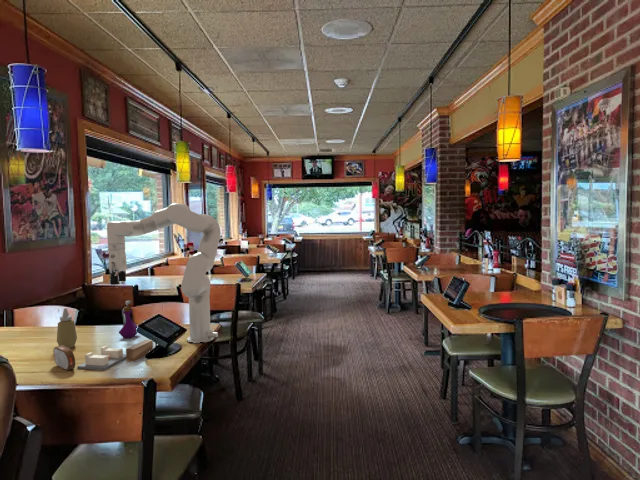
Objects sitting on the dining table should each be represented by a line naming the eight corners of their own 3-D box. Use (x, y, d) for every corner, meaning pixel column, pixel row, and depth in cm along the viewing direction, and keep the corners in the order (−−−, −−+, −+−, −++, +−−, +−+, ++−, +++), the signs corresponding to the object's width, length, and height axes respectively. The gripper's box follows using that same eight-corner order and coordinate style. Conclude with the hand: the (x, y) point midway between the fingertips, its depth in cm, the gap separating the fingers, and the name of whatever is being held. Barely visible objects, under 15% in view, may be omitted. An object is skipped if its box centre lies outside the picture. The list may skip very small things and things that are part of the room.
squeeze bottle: (68, 350, 195) (66, 310, 194) (52, 349, 197) (50, 310, 196) (81, 345, 203) (79, 307, 202) (66, 344, 205) (64, 306, 204)
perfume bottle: (133, 338, 212) (132, 302, 211) (118, 339, 212) (116, 302, 211) (140, 334, 220) (138, 299, 219) (125, 334, 220) (124, 299, 219)
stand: (130, 356, 185) (129, 345, 184) (104, 370, 169) (103, 357, 169) (105, 355, 187) (104, 344, 187) (77, 368, 171) (76, 356, 171)
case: (153, 352, 191) (152, 340, 190) (133, 362, 178) (133, 349, 178) (146, 352, 191) (145, 339, 191) (126, 361, 179) (125, 348, 178)
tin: (76, 370, 169) (75, 349, 168) (67, 373, 167) (66, 351, 166) (61, 363, 178) (60, 342, 178) (52, 365, 176) (51, 344, 176)
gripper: (117, 248, 200) (119, 285, 201) (131, 245, 217) (133, 279, 218) (100, 248, 200) (102, 286, 200) (115, 246, 217) (117, 280, 218)
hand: (118, 282), depth 209 cm, fingers open, 9 cm apart
